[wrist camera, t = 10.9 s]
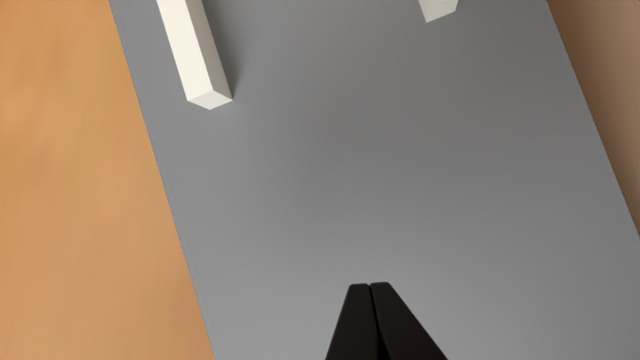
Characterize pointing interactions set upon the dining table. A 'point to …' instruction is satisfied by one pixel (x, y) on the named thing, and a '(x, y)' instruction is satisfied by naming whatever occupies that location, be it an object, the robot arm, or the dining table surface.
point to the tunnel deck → (385, 173)
